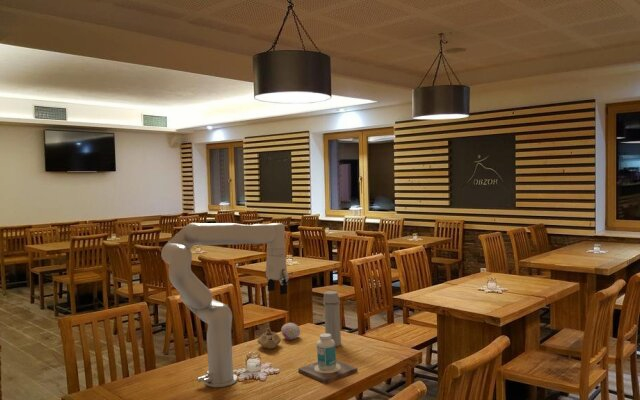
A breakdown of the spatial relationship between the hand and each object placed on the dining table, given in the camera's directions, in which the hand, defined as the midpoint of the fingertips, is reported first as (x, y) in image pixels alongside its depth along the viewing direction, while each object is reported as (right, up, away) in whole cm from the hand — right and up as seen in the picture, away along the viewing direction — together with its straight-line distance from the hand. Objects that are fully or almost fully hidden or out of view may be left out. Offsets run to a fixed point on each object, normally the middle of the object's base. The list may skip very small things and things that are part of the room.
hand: (277, 292), depth 220 cm
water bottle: (+24, -29, +23) cm, 45 cm away
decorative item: (+4, -30, +37) cm, 48 cm away
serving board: (+21, -31, -9) cm, 38 cm away
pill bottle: (+21, -29, -9) cm, 37 cm away
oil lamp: (-5, -31, +24) cm, 40 cm away
